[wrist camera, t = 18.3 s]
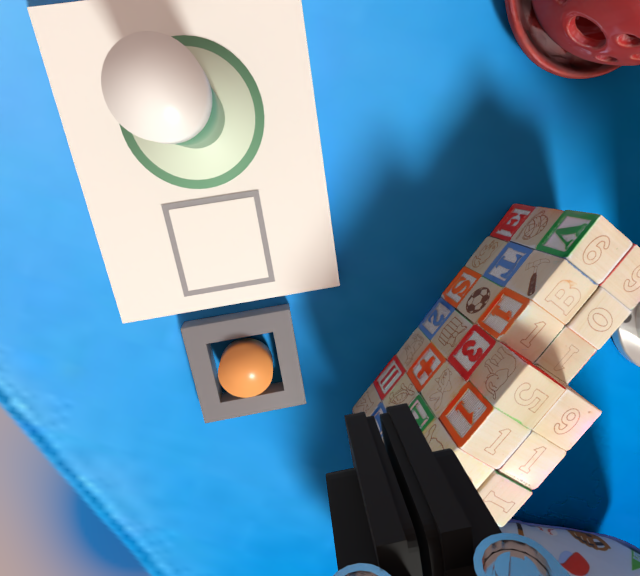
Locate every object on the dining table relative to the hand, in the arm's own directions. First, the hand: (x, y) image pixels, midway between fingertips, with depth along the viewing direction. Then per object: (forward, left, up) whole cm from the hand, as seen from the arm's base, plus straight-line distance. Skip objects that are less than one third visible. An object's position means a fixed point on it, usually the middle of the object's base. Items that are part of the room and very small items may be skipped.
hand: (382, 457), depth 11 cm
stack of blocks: (-11, +7, -22) cm, 26 cm away
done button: (+6, +7, -21) cm, 23 cm away
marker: (+6, -11, -21) cm, 24 cm away
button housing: (+6, +7, -22) cm, 23 cm away
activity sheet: (+6, -8, -22) cm, 24 cm away
